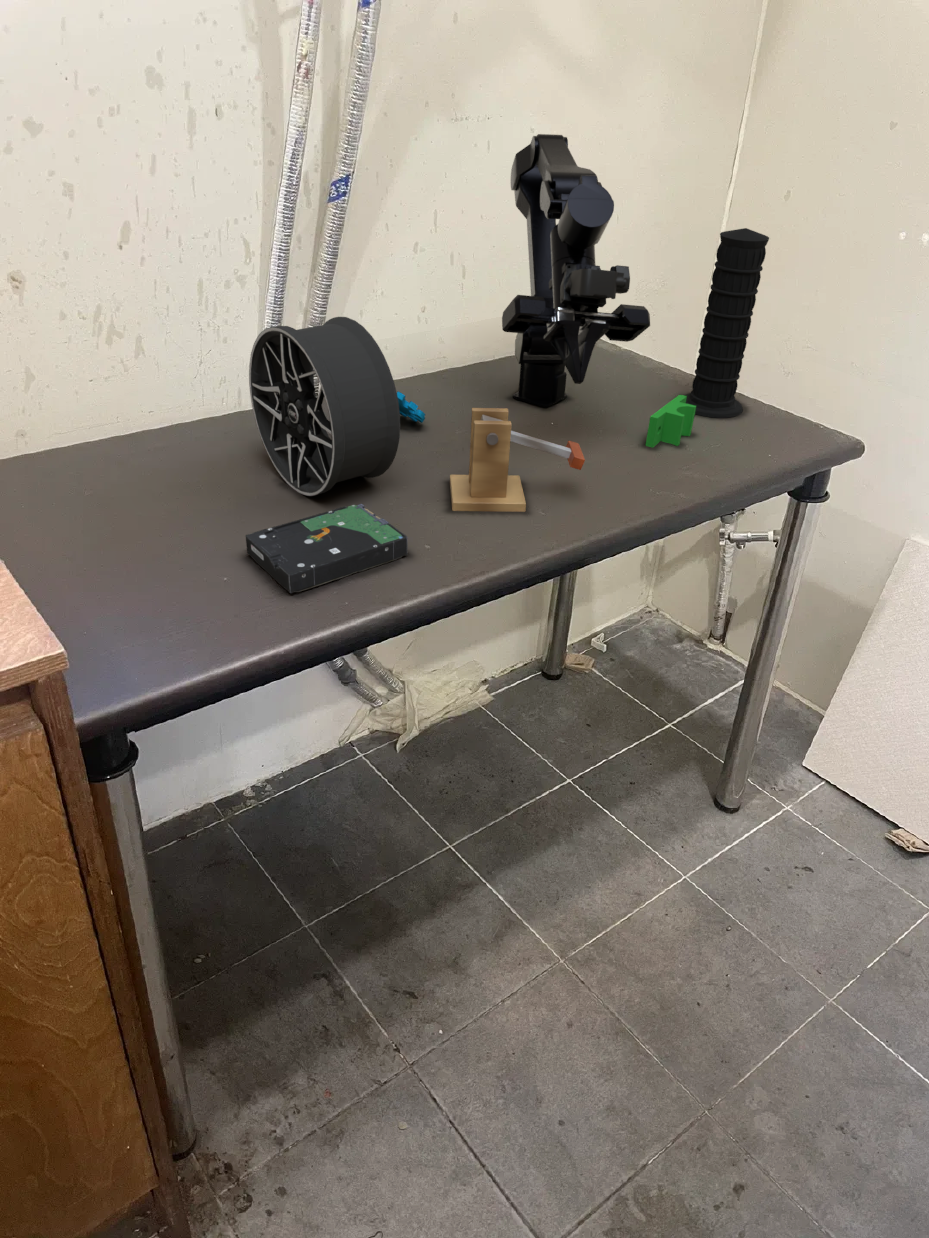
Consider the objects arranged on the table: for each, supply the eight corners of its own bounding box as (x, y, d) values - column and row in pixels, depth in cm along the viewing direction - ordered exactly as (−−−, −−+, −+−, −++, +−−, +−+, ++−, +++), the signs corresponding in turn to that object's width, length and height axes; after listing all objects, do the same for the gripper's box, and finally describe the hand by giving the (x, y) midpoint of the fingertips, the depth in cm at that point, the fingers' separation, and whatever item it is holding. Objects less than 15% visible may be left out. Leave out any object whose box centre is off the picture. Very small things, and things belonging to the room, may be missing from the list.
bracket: (518, 483, 119) (525, 404, 113) (525, 512, 112) (532, 429, 106) (449, 482, 118) (452, 402, 112) (452, 511, 111) (455, 428, 105)
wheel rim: (256, 462, 121) (242, 308, 110) (316, 446, 126) (308, 298, 114) (337, 521, 108) (330, 354, 97) (400, 501, 113) (401, 340, 102)
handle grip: (678, 413, 142) (744, 421, 140) (711, 232, 127) (785, 238, 125) (679, 391, 150) (741, 398, 148) (709, 219, 135) (779, 224, 133)
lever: (573, 456, 115) (580, 440, 114) (579, 474, 111) (586, 456, 110) (475, 427, 112) (481, 409, 111) (477, 443, 108) (484, 425, 107)
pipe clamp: (669, 453, 129) (675, 423, 126) (645, 447, 131) (649, 416, 128) (698, 428, 137) (703, 399, 134) (674, 422, 138) (679, 393, 136)
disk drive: (291, 599, 94) (409, 556, 102) (289, 576, 93) (409, 534, 100) (245, 556, 101) (359, 520, 108) (243, 534, 99) (358, 499, 107)
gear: (440, 420, 131) (395, 380, 124) (418, 455, 131) (372, 416, 124) (398, 406, 139) (353, 367, 132) (377, 439, 138) (331, 402, 132)
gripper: (527, 228, 109) (533, 355, 108) (667, 244, 114) (674, 366, 113) (498, 270, 120) (503, 386, 119) (627, 283, 125) (633, 394, 124)
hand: (579, 383), depth 118 cm, fingers closed
